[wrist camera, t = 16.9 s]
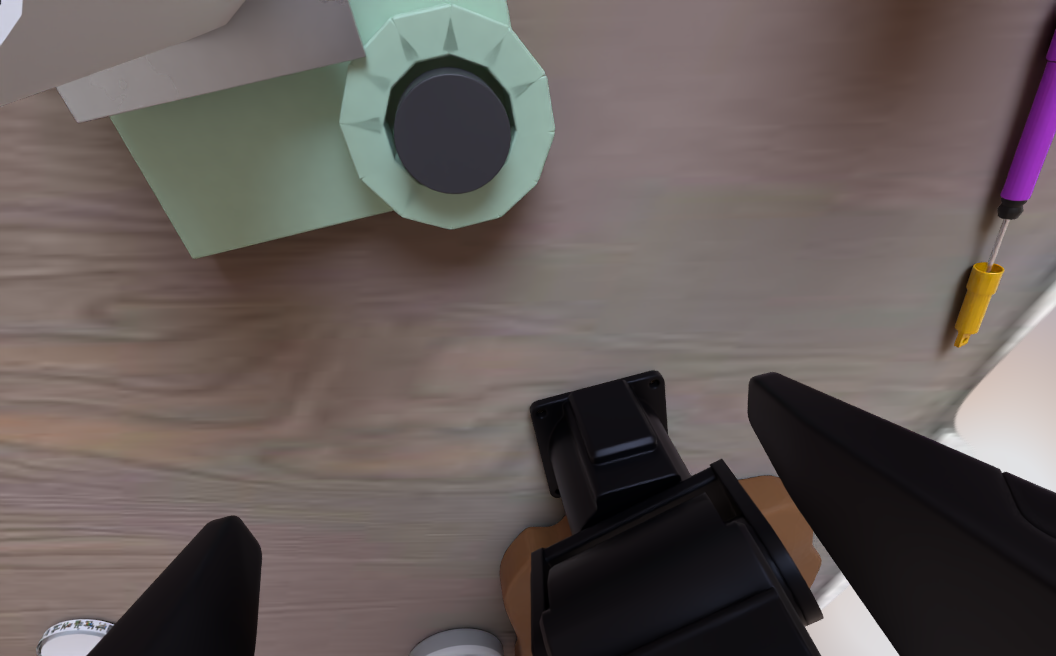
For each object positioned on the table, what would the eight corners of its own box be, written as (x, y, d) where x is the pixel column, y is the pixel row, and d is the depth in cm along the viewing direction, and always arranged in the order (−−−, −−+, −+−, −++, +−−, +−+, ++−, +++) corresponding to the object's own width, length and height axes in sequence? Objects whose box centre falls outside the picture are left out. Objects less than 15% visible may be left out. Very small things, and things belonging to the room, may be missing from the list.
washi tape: (24, 632, 28) (16, 644, 27) (103, 611, 28) (96, 623, 27) (73, 670, 30) (67, 682, 29) (146, 650, 30) (141, 662, 29)
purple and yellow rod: (1065, -21, 19) (941, 343, 28) (1107, -23, 18) (964, 354, 27) (1112, -33, 20) (976, 326, 29) (1154, -35, 19) (1000, 336, 28)
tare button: (513, 166, 17) (521, 180, 16) (414, 190, 17) (413, 206, 16) (490, 55, 15) (497, 60, 14) (380, 81, 15) (376, 88, 14)
